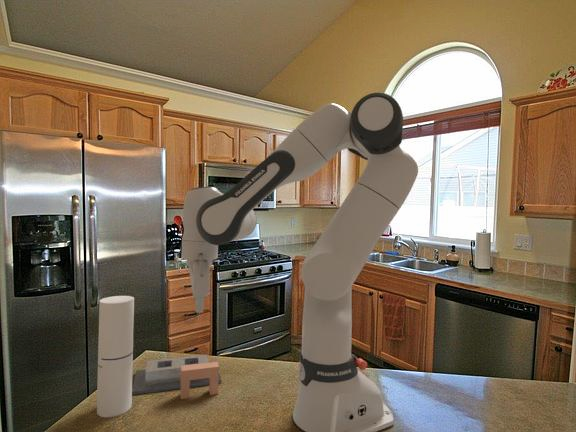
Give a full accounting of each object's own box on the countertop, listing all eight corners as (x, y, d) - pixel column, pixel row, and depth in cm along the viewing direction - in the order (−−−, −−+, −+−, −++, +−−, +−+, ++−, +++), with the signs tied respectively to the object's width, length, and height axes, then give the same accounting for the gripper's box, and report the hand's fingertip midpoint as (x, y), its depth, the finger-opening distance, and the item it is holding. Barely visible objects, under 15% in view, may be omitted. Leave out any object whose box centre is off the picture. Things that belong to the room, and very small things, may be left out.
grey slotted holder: (216, 364, 103) (216, 350, 103) (221, 383, 91) (221, 367, 91) (136, 373, 96) (136, 358, 96) (131, 395, 84) (131, 377, 84)
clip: (216, 388, 88) (217, 361, 88) (218, 394, 86) (219, 366, 86) (180, 393, 85) (181, 365, 85) (180, 399, 83) (181, 371, 83)
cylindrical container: (117, 419, 74) (120, 304, 74) (89, 414, 76) (91, 302, 76) (138, 402, 81) (140, 297, 81) (111, 398, 83) (114, 294, 83)
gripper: (217, 256, 77) (215, 318, 77) (209, 247, 96) (207, 296, 96) (187, 257, 75) (185, 320, 75) (186, 247, 94) (184, 297, 94)
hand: (198, 306), depth 86 cm, fingers open, 8 cm apart
